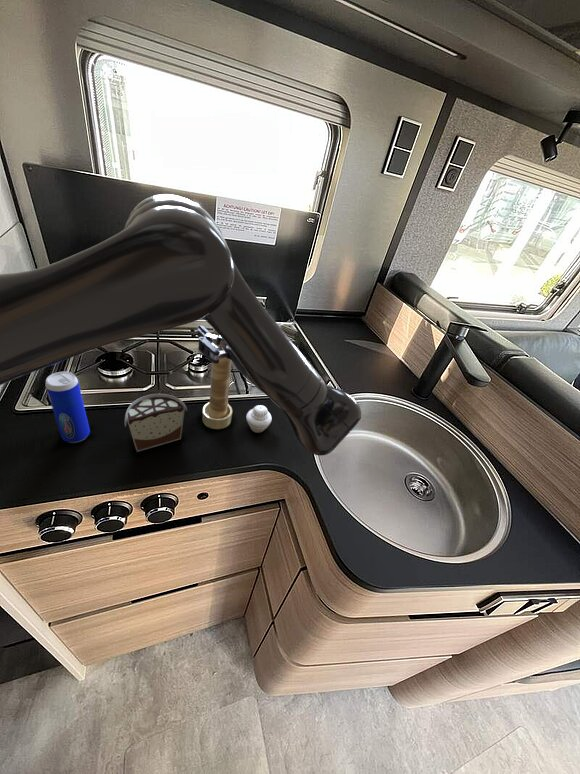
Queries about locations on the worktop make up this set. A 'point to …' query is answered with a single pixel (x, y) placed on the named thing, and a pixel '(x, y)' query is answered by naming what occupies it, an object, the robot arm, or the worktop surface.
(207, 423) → the socket
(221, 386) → the post
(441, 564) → the worktop surface
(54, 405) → the beverage can
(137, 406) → the iced muffin
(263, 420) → the white lidded jar
